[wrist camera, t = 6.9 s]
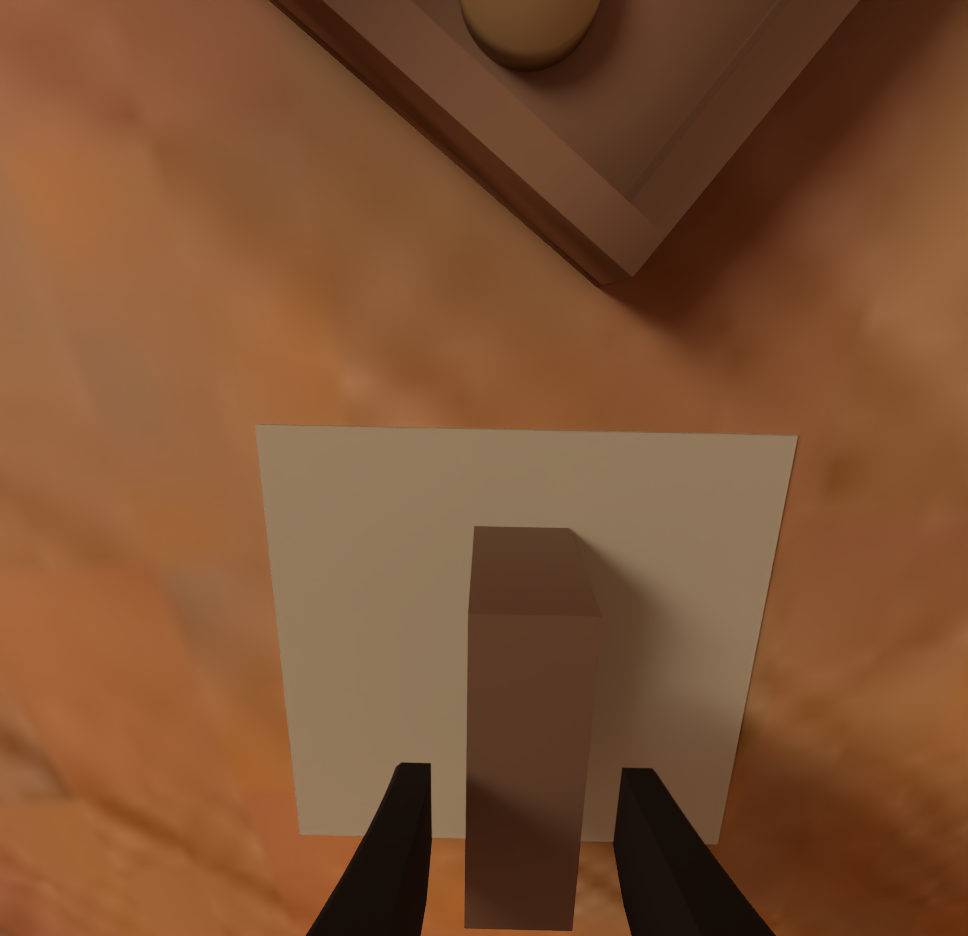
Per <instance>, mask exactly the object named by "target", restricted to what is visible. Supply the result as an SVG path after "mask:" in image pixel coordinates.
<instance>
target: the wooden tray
mask: <svg viewBox="0 0 968 936" xmlns="http://www.w3.org/2000/svg"><path fill="white" fill-rule="evenodd" d="M270 1H271V2H272V3H273V4H274V5H275V6H276V7H278V8H279V9H280V10H281V11H282V12H283V13H284V14H286V15H287V16H288V17H289V18H290V19H291V20H292V21H294V22H295V23H296V24H297V25H298V26H299V27H300V28H302V29H303V30H304V31H305V32H306V33H307V34H308V35H310V36H311V37H312V38H313V39H314V40H315V41H316V42H318V43H319V44H320V45H321V46H322V47H323V48H324V49H326V50H327V51H328V52H329V53H330V54H331V55H332V56H334V57H335V58H336V59H337V60H338V61H339V62H340V63H342V64H343V65H344V66H345V67H346V68H347V69H348V70H350V71H351V72H352V73H353V74H354V75H355V76H356V77H358V78H359V79H360V80H361V81H362V82H363V83H364V84H366V85H367V86H368V87H369V88H370V89H371V90H372V91H374V92H375V93H376V94H377V95H378V96H379V97H380V98H382V99H383V100H384V101H385V102H386V103H387V104H388V105H390V106H391V107H392V108H393V109H394V110H395V111H396V112H398V113H399V114H400V115H401V116H402V117H403V118H404V119H406V120H407V121H408V122H409V123H410V124H411V125H412V126H414V127H415V128H416V129H417V130H418V131H419V132H420V133H422V134H423V135H424V136H425V137H426V138H427V139H428V140H430V141H431V142H432V143H433V144H434V145H435V146H436V147H438V148H439V149H440V150H441V151H442V152H443V153H444V154H446V155H447V156H448V157H449V158H450V159H451V160H452V161H454V162H455V163H456V164H457V165H458V166H459V167H460V168H462V169H463V170H464V171H465V172H466V173H467V174H468V175H470V176H471V177H472V178H473V179H474V180H475V181H476V182H478V183H479V184H480V185H481V186H482V187H483V188H484V189H486V190H487V191H488V192H489V193H490V194H491V195H492V196H494V197H495V198H496V199H497V200H498V201H499V202H500V203H502V204H503V205H504V206H505V207H506V208H507V209H508V210H510V211H511V212H512V213H513V214H514V215H515V216H516V217H518V218H519V219H520V220H521V221H522V222H523V223H524V224H526V225H527V226H528V227H529V228H530V229H531V230H532V231H534V232H535V233H536V234H537V235H538V236H539V237H540V238H542V239H543V240H544V241H545V242H546V243H547V244H548V245H550V246H551V247H552V248H553V249H554V250H555V251H556V252H558V253H559V254H560V255H561V256H562V257H563V258H564V259H566V260H567V261H568V262H569V263H570V264H571V265H572V266H573V267H575V268H576V269H577V270H578V271H579V272H580V273H581V274H583V275H584V276H585V277H586V278H587V279H588V280H589V281H591V282H592V283H593V284H594V285H595V286H596V287H598V286H602V285H606V284H610V283H613V282H617V281H621V280H625V279H629V278H632V277H633V276H634V275H635V274H636V273H637V272H638V270H639V269H640V268H641V267H642V265H643V264H644V263H645V262H646V261H647V259H648V258H649V257H650V256H651V254H652V253H653V252H654V251H655V250H656V248H657V247H658V246H659V245H660V244H661V242H662V241H663V240H664V239H665V237H666V236H667V235H668V234H669V233H670V231H671V230H672V229H673V228H674V226H675V225H676V224H677V223H678V222H679V220H680V219H681V218H682V217H683V215H684V214H685V213H686V212H687V211H688V209H689V208H690V207H691V206H692V204H693V203H694V202H695V201H696V200H697V198H698V197H699V196H700V195H701V194H702V192H703V191H704V190H705V189H706V187H707V186H708V185H709V184H710V183H711V181H712V180H713V179H714V178H715V176H716V175H717V174H718V173H719V172H720V170H721V169H722V168H723V167H724V165H725V164H726V163H727V162H728V161H729V159H730V158H731V157H732V156H733V154H734V153H735V152H736V151H737V150H738V148H739V147H740V146H741V145H742V143H743V142H744V141H745V140H746V139H747V137H748V136H749V135H750V134H751V133H752V131H753V130H754V129H755V128H756V126H757V125H758V124H759V123H760V122H761V120H762V119H763V118H764V117H765V115H766V114H767V113H768V112H769V111H770V109H771V108H772V107H773V106H774V104H775V103H776V102H777V101H778V100H779V98H780V97H781V96H782V95H783V93H784V92H785V91H786V90H787V89H788V87H789V86H790V85H791V84H792V83H793V81H794V80H795V79H796V78H797V76H798V75H799V74H800V73H801V72H802V70H803V69H804V68H805V67H806V65H807V64H808V63H809V62H810V61H811V59H812V58H813V57H814V56H815V54H816V53H817V52H818V51H819V50H820V48H821V47H822V46H823V45H824V43H825V42H826V41H827V40H828V39H829V37H830V36H831V35H832V34H833V33H834V31H835V30H836V29H837V28H838V26H839V25H840V24H841V23H842V22H843V20H844V19H845V18H846V17H847V15H848V14H849V13H850V12H851V11H852V9H853V8H854V7H855V6H856V4H857V3H858V2H859V1H860V0H270Z"/></svg>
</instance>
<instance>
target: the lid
mask: <svg viewBox="0 0 968 936" xmlns="http://www.w3.org/2000/svg"><path fill="white" fill-rule="evenodd" d="M255 430H256V439H257V448H258V458H259V467H260V476H261V485H262V494H263V503H264V512H265V521H266V530H267V540H268V549H269V558H270V567H271V576H272V585H273V594H274V603H275V612H276V622H277V631H278V640H279V649H280V658H281V667H282V676H283V685H284V694H285V704H286V713H287V722H288V731H289V740H290V749H291V758H292V767H293V776H294V786H295V795H296V804H297V813H298V822H299V831H300V835H340V836H364V835H365V834H366V832H367V830H368V828H369V826H370V824H371V822H372V820H373V818H374V816H375V814H376V812H377V810H378V808H379V806H380V803H381V801H382V799H383V797H384V795H385V792H386V790H387V788H388V785H389V783H390V781H391V778H392V776H393V773H394V770H395V768H396V766H397V765H399V764H400V763H401V762H407V763H431V811H432V838H465V839H466V840H465V928H472V929H512V930H553V931H572V927H573V916H574V906H575V895H576V885H577V874H578V864H579V853H580V843H581V841H590V842H613V840H614V831H615V823H616V814H617V806H618V798H619V789H620V781H621V773H622V767H623V768H652V769H653V770H654V771H655V772H656V773H657V774H658V776H659V777H660V779H661V780H662V782H663V783H664V785H665V786H666V788H667V789H668V791H669V792H670V794H671V796H672V797H673V799H674V800H675V801H676V803H677V804H678V806H679V807H680V809H681V810H682V812H683V813H684V815H685V816H686V818H687V819H688V821H689V822H690V823H691V825H692V826H693V828H694V829H695V831H696V832H697V833H698V835H699V836H700V838H701V839H702V840H703V842H704V843H705V844H715V845H718V841H719V836H720V831H721V826H722V821H723V815H724V810H725V805H726V800H727V795H728V790H729V785H730V780H731V775H732V770H733V764H734V759H735V754H736V749H737V744H738V739H739V734H740V729H741V724H742V719H743V713H744V708H745V703H746V698H747V693H748V688H749V683H750V678H751V673H752V668H753V663H754V657H755V652H756V647H757V642H758V637H759V632H760V627H761V622H762V617H763V612H764V606H765V601H766V596H767V591H768V586H769V581H770V576H771V571H772V566H773V561H774V556H775V550H776V545H777V540H778V535H779V530H780V525H781V520H782V515H783V510H784V505H785V499H786V494H787V489H788V484H789V479H790V474H791V469H792V464H793V459H794V454H795V448H796V443H797V438H798V436H797V435H780V434H730V433H680V432H630V431H581V430H531V429H481V428H432V427H382V426H332V425H282V424H256V425H255Z"/></svg>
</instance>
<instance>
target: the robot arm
mask: <svg viewBox="0 0 968 936" xmlns="http://www.w3.org/2000/svg"><path fill="white" fill-rule="evenodd" d="M431 843H432V811H431V763H407V762H401V763H400V764H399V765H397V766H396V768H395V770H394V773H393V776H392V778H391V781H390V783H389V785H388V788H387V790H386V792H385V795H384V797H383V799H382V801H381V803H380V806H379V808H378V810H377V812H376V814H375V816H374V818H373V820H372V822H371V824H370V826H369V828H368V830H367V832H366V834H365V835H364V837H363V839H362V841H361V843H360V845H359V847H358V848H357V850H356V852H355V854H354V856H353V858H352V859H351V861H350V863H349V865H348V867H347V869H346V870H345V872H344V874H343V876H342V877H341V879H340V881H339V882H338V884H337V886H336V887H335V889H334V891H333V892H332V894H331V896H330V897H329V899H328V900H327V902H326V904H325V905H324V907H323V909H322V910H321V912H320V914H319V915H318V917H317V919H316V920H315V922H314V923H313V925H312V927H311V928H310V930H309V931H308V933H307V934H306V936H421V930H422V924H423V918H424V912H425V906H426V900H427V889H428V878H429V867H430V855H431ZM613 846H614V852H615V858H616V864H617V870H618V876H619V882H620V887H621V893H622V898H623V904H624V908H625V912H626V916H627V920H628V923H629V927H630V931H631V935H632V936H776V935H775V934H774V933H773V932H772V930H771V929H770V928H769V927H768V925H767V924H766V923H765V922H764V920H763V919H762V918H761V917H760V916H759V914H758V913H757V912H756V911H755V909H754V908H753V907H752V906H751V904H750V903H749V902H748V900H747V899H746V898H745V897H744V895H743V894H742V893H741V891H740V890H739V889H738V888H737V886H736V885H735V884H734V882H733V881H732V880H731V878H730V877H729V876H728V874H727V873H726V872H725V870H724V869H723V868H722V866H721V865H720V864H719V862H718V861H717V860H716V858H715V857H714V856H713V854H712V853H711V852H710V850H709V849H708V847H707V846H706V845H705V843H704V842H703V840H702V839H701V838H700V836H699V835H698V833H697V832H696V831H695V829H694V828H693V826H692V825H691V823H690V822H689V821H688V819H687V818H686V816H685V815H684V813H683V812H682V810H681V809H680V807H679V806H678V804H677V803H676V801H675V800H674V799H673V797H672V796H671V794H670V792H669V791H668V789H667V788H666V786H665V785H664V783H663V782H662V780H661V779H660V777H659V776H658V774H657V773H656V772H655V771H654V770H653V769H652V768H623V767H622V773H621V781H620V789H619V798H618V806H617V814H616V823H615V831H614V840H613Z"/></svg>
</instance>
